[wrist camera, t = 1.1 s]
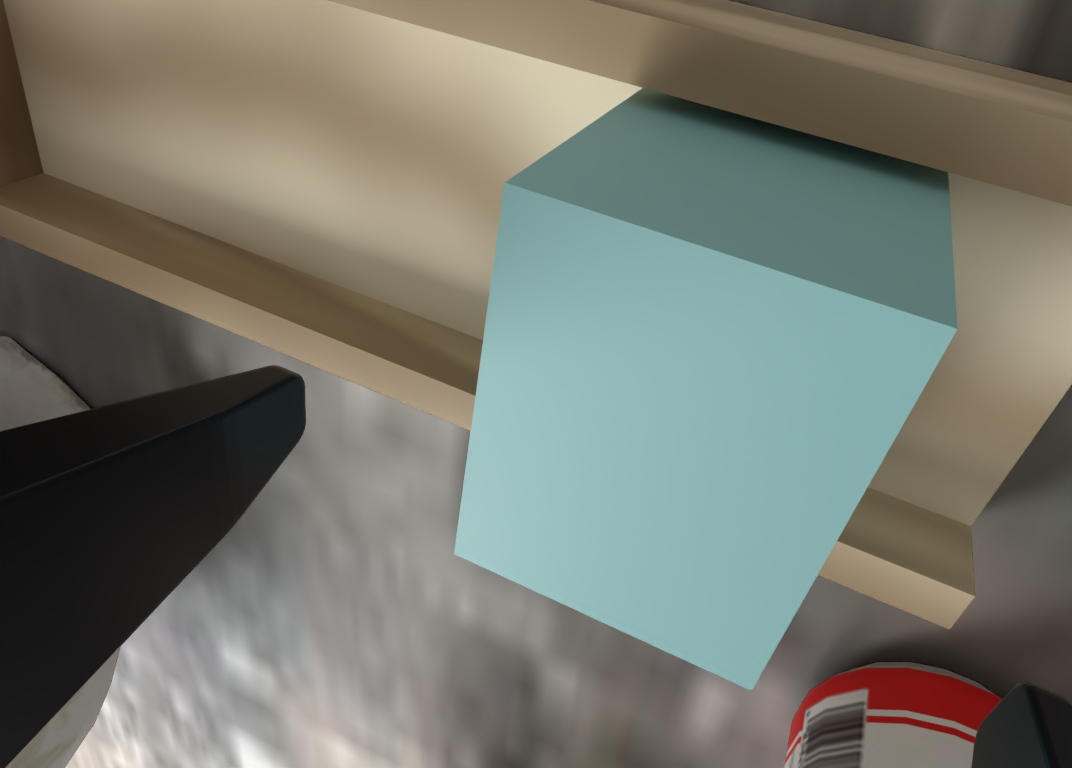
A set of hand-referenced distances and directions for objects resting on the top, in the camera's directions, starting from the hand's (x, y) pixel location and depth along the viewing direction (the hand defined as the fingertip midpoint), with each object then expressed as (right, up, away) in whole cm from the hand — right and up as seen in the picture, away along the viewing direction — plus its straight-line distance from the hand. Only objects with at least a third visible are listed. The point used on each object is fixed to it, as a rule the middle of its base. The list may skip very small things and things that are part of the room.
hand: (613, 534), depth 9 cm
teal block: (+3, +4, +5) cm, 7 cm away
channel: (-4, +7, +9) cm, 12 cm away
